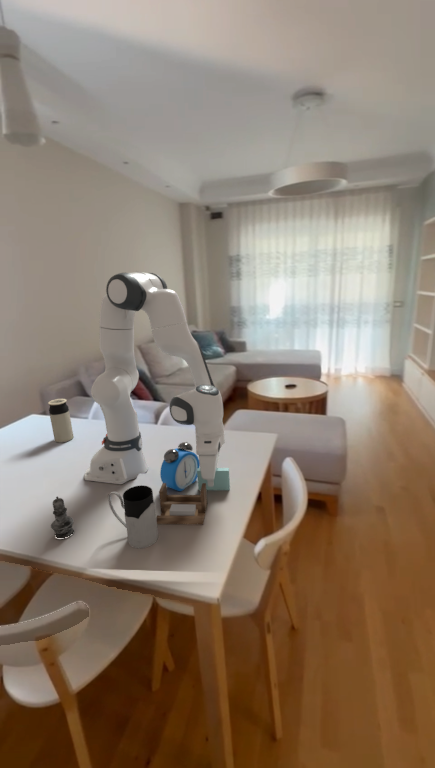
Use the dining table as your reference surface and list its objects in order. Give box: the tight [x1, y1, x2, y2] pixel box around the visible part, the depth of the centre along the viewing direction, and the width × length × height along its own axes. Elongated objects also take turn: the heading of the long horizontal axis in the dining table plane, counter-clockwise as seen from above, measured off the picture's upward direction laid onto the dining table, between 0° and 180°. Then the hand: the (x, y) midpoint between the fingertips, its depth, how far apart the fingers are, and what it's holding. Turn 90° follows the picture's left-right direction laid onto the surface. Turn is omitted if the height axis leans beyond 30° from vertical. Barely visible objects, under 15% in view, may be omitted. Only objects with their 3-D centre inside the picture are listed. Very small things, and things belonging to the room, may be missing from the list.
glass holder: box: [107, 484, 159, 549], centre depth 100 cm, size 9×14×15 cm, turn 66°
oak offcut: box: [165, 509, 198, 516], centre depth 108 cm, size 9×3×2 cm, turn 84°
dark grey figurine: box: [50, 496, 75, 538], centre depth 104 cm, size 6×6×12 cm
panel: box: [197, 467, 231, 491], centre depth 121 cm, size 10×2×8 cm, turn 84°
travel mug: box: [47, 398, 74, 443], centre depth 167 cm, size 8×8×18 cm
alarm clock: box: [159, 441, 200, 492], centre depth 124 cm, size 13×6×15 cm, turn 143°
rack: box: [156, 482, 208, 525], centre depth 109 cm, size 13×10×8 cm
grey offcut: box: [169, 504, 196, 516], centre depth 107 cm, size 7×3×2 cm, turn 84°
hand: (212, 477), depth 120 cm, fingers open, 8 cm apart
